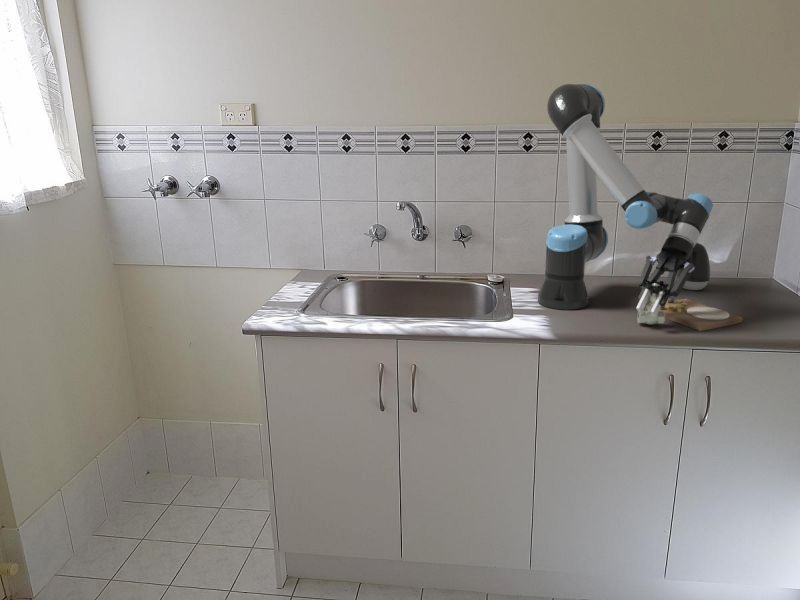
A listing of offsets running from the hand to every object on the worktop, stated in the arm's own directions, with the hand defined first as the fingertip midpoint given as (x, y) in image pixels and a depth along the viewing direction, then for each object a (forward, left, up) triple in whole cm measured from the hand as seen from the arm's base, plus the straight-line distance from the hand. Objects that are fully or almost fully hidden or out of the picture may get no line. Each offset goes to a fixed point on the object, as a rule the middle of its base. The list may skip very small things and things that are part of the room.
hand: (645, 312), depth 173 cm
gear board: (-2, +21, -5) cm, 21 cm away
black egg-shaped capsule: (-23, +44, -5) cm, 50 cm away
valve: (-2, +4, -5) cm, 7 cm away
